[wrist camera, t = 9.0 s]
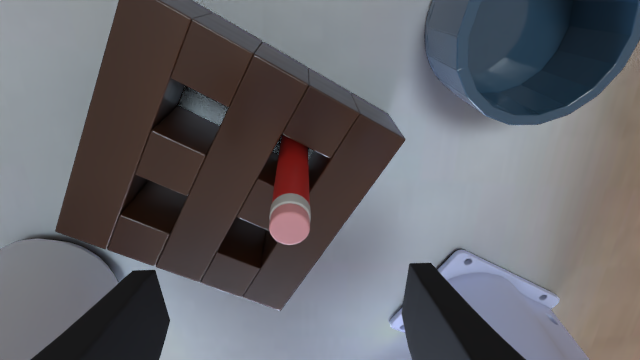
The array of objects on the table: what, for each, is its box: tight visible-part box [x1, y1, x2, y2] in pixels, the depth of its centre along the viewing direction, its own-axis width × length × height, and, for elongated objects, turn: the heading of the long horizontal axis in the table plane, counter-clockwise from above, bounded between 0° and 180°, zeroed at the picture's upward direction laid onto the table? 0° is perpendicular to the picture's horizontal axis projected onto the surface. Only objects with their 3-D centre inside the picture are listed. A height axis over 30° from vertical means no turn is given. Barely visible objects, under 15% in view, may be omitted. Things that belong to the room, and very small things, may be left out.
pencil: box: [269, 133, 311, 245], centre depth 15 cm, size 1×1×8 cm
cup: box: [425, 0, 640, 125], centre depth 15 cm, size 7×7×4 cm
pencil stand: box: [55, 0, 405, 311], centre depth 17 cm, size 12×12×4 cm
